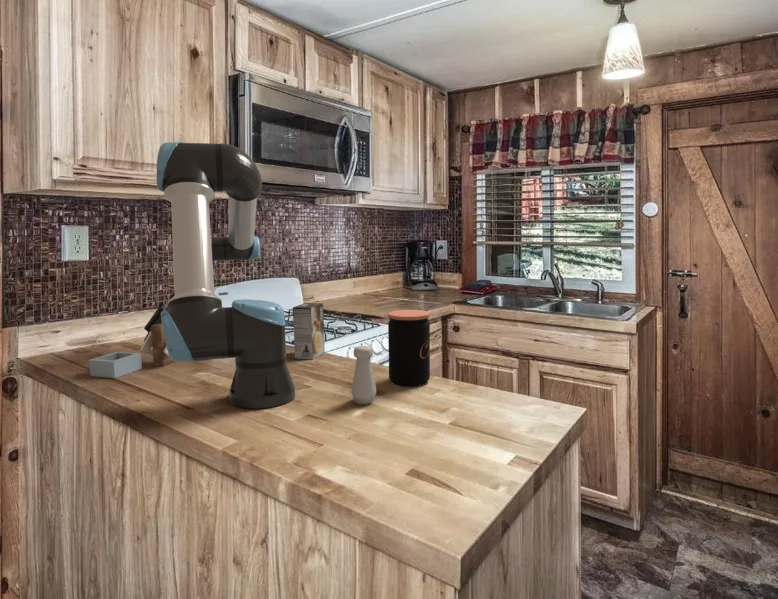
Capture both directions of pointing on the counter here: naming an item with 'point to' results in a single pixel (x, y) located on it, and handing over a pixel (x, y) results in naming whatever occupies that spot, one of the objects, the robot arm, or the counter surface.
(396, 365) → the coffee jar
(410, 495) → the counter surface
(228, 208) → the robot arm
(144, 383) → the counter surface
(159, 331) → the upright wooden block
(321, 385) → the counter surface
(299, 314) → the coffee box
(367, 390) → the salt shaker
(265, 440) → the counter surface
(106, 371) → the blue-grey open box
